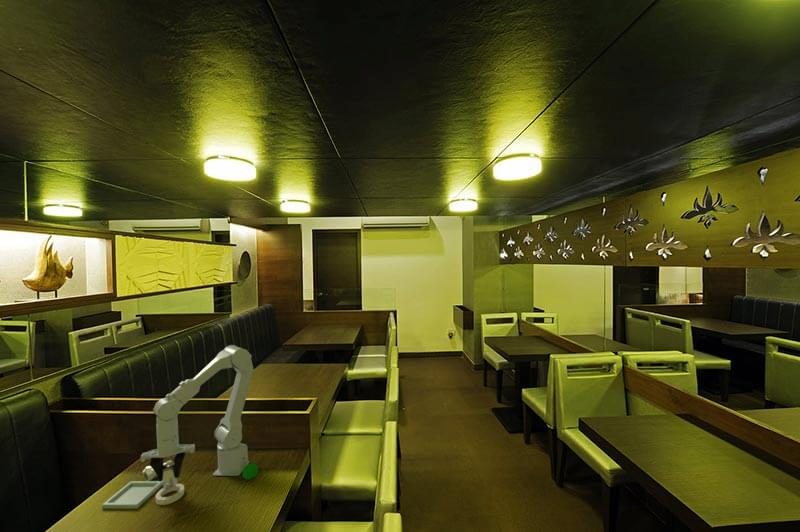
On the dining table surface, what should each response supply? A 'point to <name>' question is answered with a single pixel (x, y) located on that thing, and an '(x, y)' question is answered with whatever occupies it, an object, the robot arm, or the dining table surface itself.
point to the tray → (132, 495)
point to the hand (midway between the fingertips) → (169, 477)
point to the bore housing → (170, 499)
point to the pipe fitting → (151, 472)
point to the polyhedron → (250, 471)
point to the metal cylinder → (168, 476)
